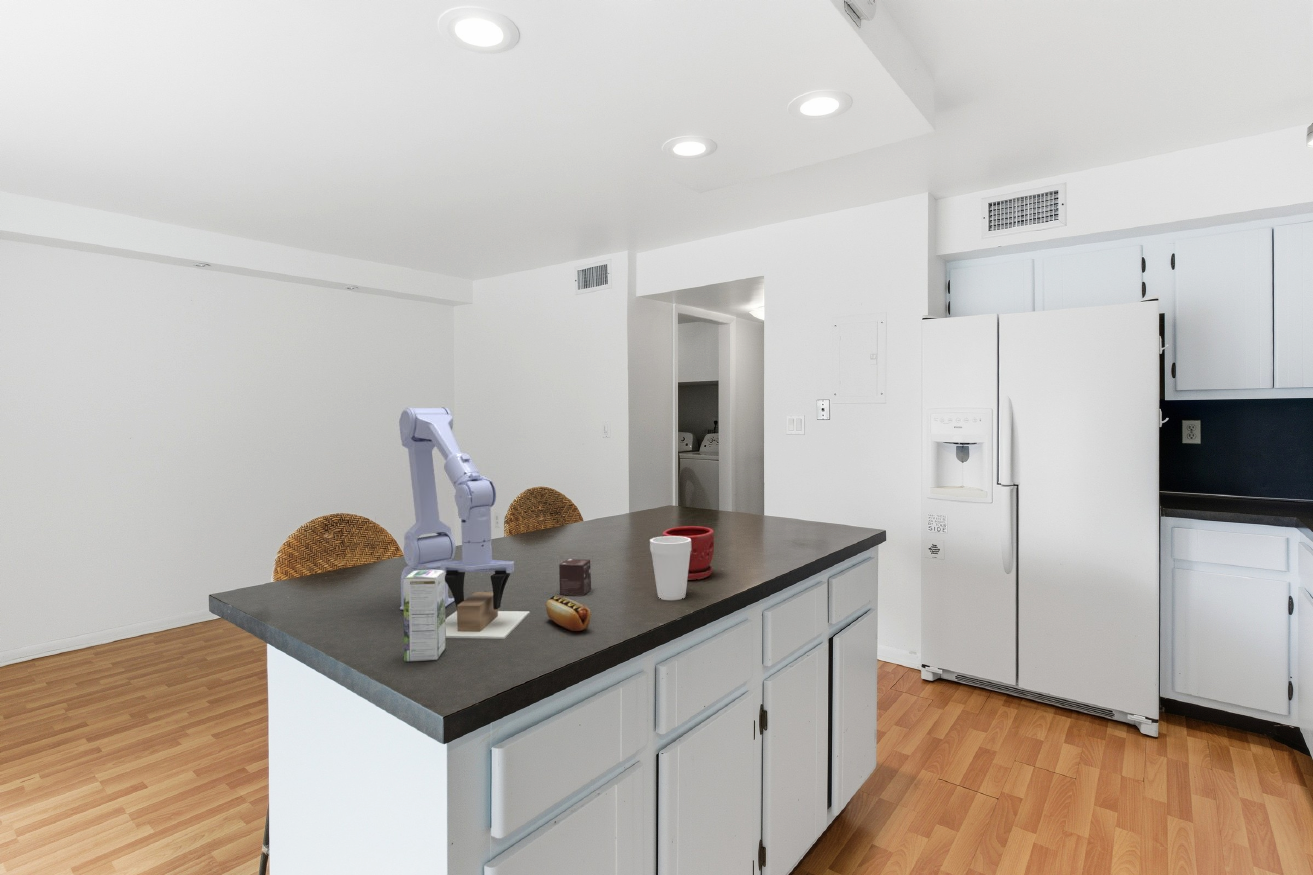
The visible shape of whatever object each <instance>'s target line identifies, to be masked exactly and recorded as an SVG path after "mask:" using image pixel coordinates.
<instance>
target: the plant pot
mask: <svg viewBox="0 0 1313 875" xmlns="http://www.w3.org/2000/svg"><path fill="white" fill-rule="evenodd" d="M664 536H680V537H687V538H690V539H691V551H690V559H689V569H688V578H687V581H693V580H695V581H696V579H697V580H703V579H704V578H708V577H709V576H710V575H711V574H712V573H713V567H712V566H710V565H711V563H712V560H713V556H714V550H715V532H714V530H713V529H712V528H710V527H705V526H695V525H693V526H691V525H690V526H688V525H687V526H676V527H671V528H668V529H666V530H664V531H663V532H662V537H664Z"/></svg>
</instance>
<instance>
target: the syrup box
mask: <svg viewBox="0 0 1313 875" xmlns="http://www.w3.org/2000/svg"><path fill="white" fill-rule="evenodd" d="M403 591H404V610H403V644H404V645H403V651H404V652H403V653H404V654H403V655H404V657H403V661H404V662H420V661H421V662H422V661H438V660H439V658H440V657H441V655H442V654H443V652H444V651H445V650H446V648H447V642H446V639H447V638H446V629H445V619H446V607H445V571H443V570H418V571H413V572H412V573H411V574H409V575H408V576H407V577H406V578H404V579H403Z"/></svg>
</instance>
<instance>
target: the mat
mask: <svg viewBox="0 0 1313 875" xmlns="http://www.w3.org/2000/svg"><path fill="white" fill-rule="evenodd" d="M530 613H531V611H528V610H527V611H525V610H524V611H522V610H521V611H518V610H516V611H515V610H510V611H509V610H504V611H503V610H498V616H497V617H496V618H495V619H494V620H493V621H492V622H491V623H489V624H488V625H487V626H486V627H485V628H484V629H483V630H482V631H480V632H461V631H458V629H457V610H455V611H454V612H453V613H452V614H450V615H449V616H447V617H445V629H446V639H482V640H483V639H488V640H489V639H491V640H492V639H494V640H496V639H497V640H499V639H501V640H504V639H506V638H507V637H508V636H509V635H510V634H511V633H512V632H513V631H514V630H515V629H516V628H517V627H518V626H519V625H520V624H521V622H523V621H524V620H525V619H526V618H527V616H529V615H530Z"/></svg>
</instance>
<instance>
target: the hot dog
mask: <svg viewBox="0 0 1313 875" xmlns="http://www.w3.org/2000/svg"><path fill="white" fill-rule="evenodd" d="M545 611H546V613H547V616H548V618H549V619H551V620H552V621H553V622H554V623H555V624H556V625H558V626H560V627H562V628H564V629H567V630H570V631H572V632H580V631H583V630H585V629H588V626H589V624H590V622H591V615H592V613H591V610H590V608H588V607H587V606H585V605H583V604H582V603H579V602H578V601H575V600H573V599H571V598H568V597H565V596H558V595H553V596H551V597H550V598H549V599H548V600H546V603H545Z"/></svg>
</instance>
